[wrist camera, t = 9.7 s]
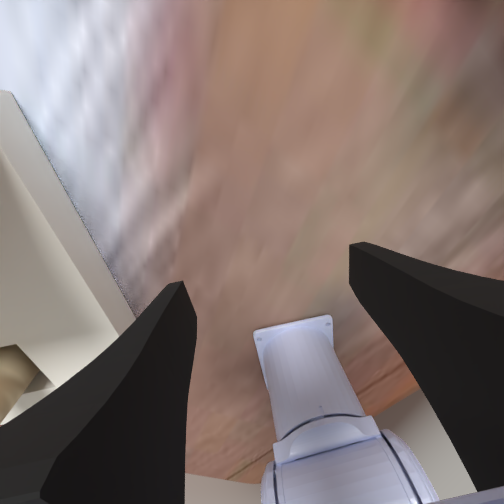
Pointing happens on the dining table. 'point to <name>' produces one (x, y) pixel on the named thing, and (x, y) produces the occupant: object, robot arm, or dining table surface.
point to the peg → (14, 376)
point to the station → (48, 268)
